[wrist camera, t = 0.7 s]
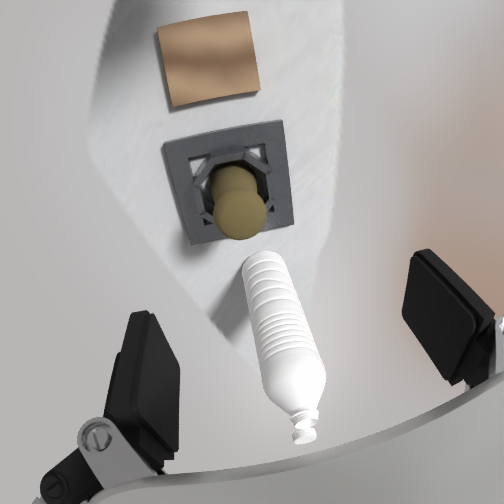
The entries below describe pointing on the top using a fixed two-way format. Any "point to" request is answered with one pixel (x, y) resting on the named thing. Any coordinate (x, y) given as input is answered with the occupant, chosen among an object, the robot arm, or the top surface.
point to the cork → (236, 200)
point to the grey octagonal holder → (225, 150)
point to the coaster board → (209, 57)
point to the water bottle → (284, 342)
